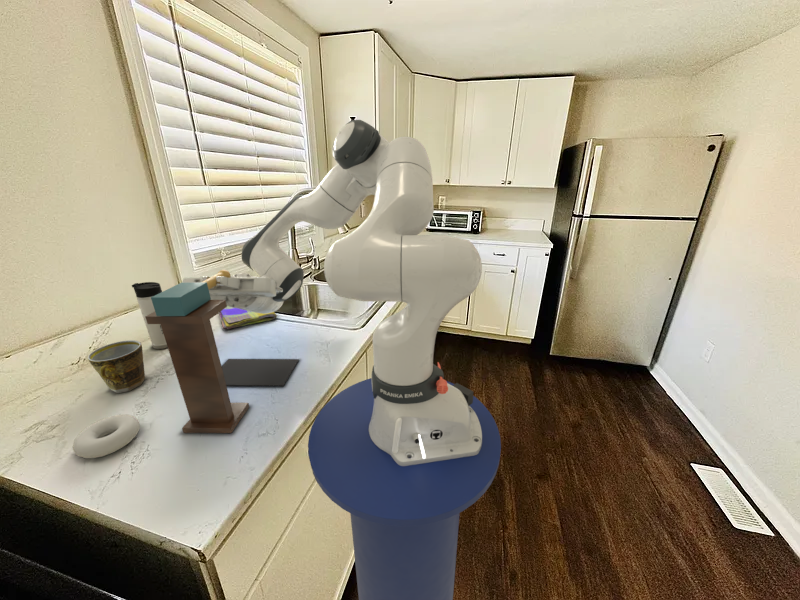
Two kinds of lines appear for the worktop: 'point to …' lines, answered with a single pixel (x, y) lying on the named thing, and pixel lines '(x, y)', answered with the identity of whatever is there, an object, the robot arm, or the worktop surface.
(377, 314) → the worktop surface
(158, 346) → the travel mug
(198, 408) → the brown wooden pedestal
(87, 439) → the donut
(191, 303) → the mallet
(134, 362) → the ceramic cup
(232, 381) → the mat
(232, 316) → the dish towel
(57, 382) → the worktop surface
